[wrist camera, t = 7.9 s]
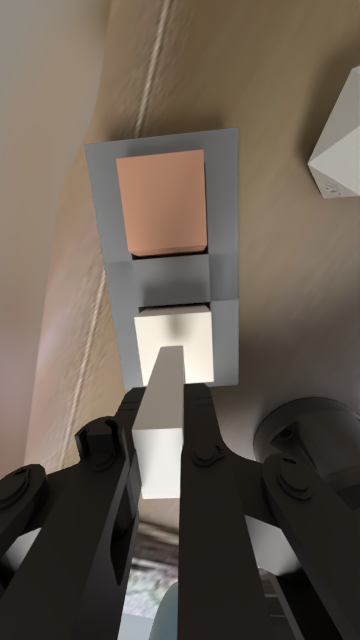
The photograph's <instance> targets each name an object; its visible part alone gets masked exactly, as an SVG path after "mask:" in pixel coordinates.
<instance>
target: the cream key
mask: <svg viewBox="0 0 360 640" xmlns="http://www.w3.org/2000/svg"><path fill="white" fill-rule="evenodd" d="M134 320H135V327H136V335H137V342H138V349H139V356H140V364H141V371H142V378H143V385H144V386H145V385H148V382H149V379H150V376H151V373H152V370H153V367H154V364H155V361H156V359H157V356H158V353H159V350H160V347H163V346H178V345H183V350H184V364H185V377H186V383H199V382H214V377H213V349H212V322H211V311H210V310H209V309H208V308H207V307H206V305H205V304H190V305H176V306H163V307H149V308H146V309H145V310H143V311H142V312H141V313H139V314H138V315H137V316H135V317H134Z"/></svg>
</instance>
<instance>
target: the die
mask: <svg viewBox="0 0 360 640" xmlns="http://www.w3.org/2000/svg"><path fill="white" fill-rule="evenodd" d="M308 166H309V168H310V170H311V173H312V175H313V177H314V179H315V181H316V184H317V186H318V188H319V190H320V192H321V195H322V197H323V199H324V198H339V197H353V196H360V66H358V67H355V68H353V69H352V70H351V72H350V74H349V76H348V78H347V81H346V83H345V85H344V87H343V89H342V91H341V93H340V95H339V97H338V100H337V102H336V104H335V106H334V108H333V110H332V112H331V114H330V117H329V119H328V121H327V123H326V125H325V127H324V129H323V131H322V133H321V136H320V138H319V140H318V142H317V144H316V146H315V148H314V151H313V153H312V155H311V157H310V159H309V162H308Z"/></svg>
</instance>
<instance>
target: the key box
mask: <svg viewBox="0 0 360 640" xmlns="http://www.w3.org/2000/svg"><path fill="white" fill-rule="evenodd" d="M84 147H85V153H86V159H87V165H88V171H89V177H90V183H91V189H92V195H93V201H94V207H95V214H96V220H97V226H98V232H99V238H100V244H101V250H102V256H103V262H104V268H105V274H106V280H107V286H108V292H109V298H110V304H111V310H112V316H113V322H114V328H115V334H116V340H117V346H118V352H119V358H120V364H121V370H122V376H123V382H124V388H125V391H130V390H131V389H132V388H133V387H147V385H145V386H144V385H143V378H142V371H141V364H140V356H139V349H138V342H137V335H136V327H135V320H134V317H135V316H137V315H138V314H139V313H141V312H142V311H143V310H145V309H146V308H149V306H159V305H172V304H186V303H200V302H205V305H206V307H207V308H208V309H209V310H210V311H211V322H212V349H213V377H214V382H199V383H205V384H206V385H207V387H212V386H230V385H239V277H238V127H236V128H227V129H218V130H208V131H199V132H190V133H181V134H172V135H163V136H154V137H145V138H136V139H127V140H118V141H109V142H100V143H91V144H84ZM202 149H203V150H204V176H205V203H206V229H207V246H206V247H205V249H204V250H203V255H192V256H180V257H168V258H156V259H144V260H143V259H142V258H140V257H138V256H136V255H134V254H132V253H131V252H129V251H128V245H127V238H126V230H125V223H124V215H123V208H122V200H121V193H120V185H119V178H118V170H117V163H116V159H118V158H127V157H137V156H146V155H155V154H165V153H174V152H184V151H193V150H202ZM186 384H192V383H186Z"/></svg>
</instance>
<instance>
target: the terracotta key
mask: <svg viewBox="0 0 360 640" xmlns="http://www.w3.org/2000/svg"><path fill="white" fill-rule="evenodd" d="M116 163H117V170H118V178H119V185H120V193H121V200H122V208H123V215H124V223H125V230H126V238H127V245H128V251H129V252H131V253H132V254H134V255H136V256H138V257H140V258H142V259H152V258H164V257H176V256H188V255H200V254H201V253H202V252H203V250H204V249H205V247H206V246H207V229H206V203H205V176H204V150H203V149H202V150H193V151H184V152H174V153H165V154H155V155H146V156H137V157H127V158H118V159H116Z"/></svg>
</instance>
